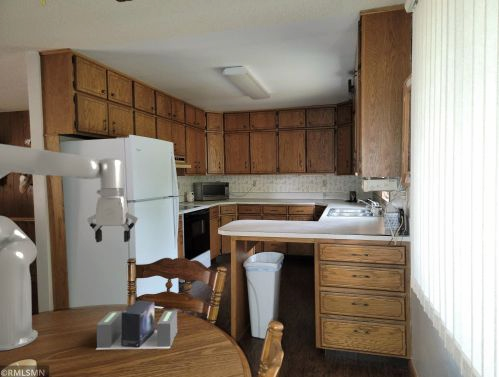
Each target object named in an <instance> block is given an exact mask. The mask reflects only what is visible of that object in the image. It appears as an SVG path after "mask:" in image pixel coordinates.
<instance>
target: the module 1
mask: <svg viewBox="0 0 499 377" xmlns="http://www.w3.org/2000/svg"><path fill="white" fill-rule="evenodd" d="M121 312H123V310H121V311H119V310H117V311H114V310H113V311H109V312H108V313H107V314H106V315H105V316H104V317H103V318H102V319H101V320H99V322H97V324H96V348H111V346H112V345H113V344H114V342H115V341H116V340H117V339H118V337H119V336H120V335H121V334H122V333H121V331H122V328H121V324H122V323H121V321H122V320H121V319H122V313H121Z"/></svg>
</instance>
